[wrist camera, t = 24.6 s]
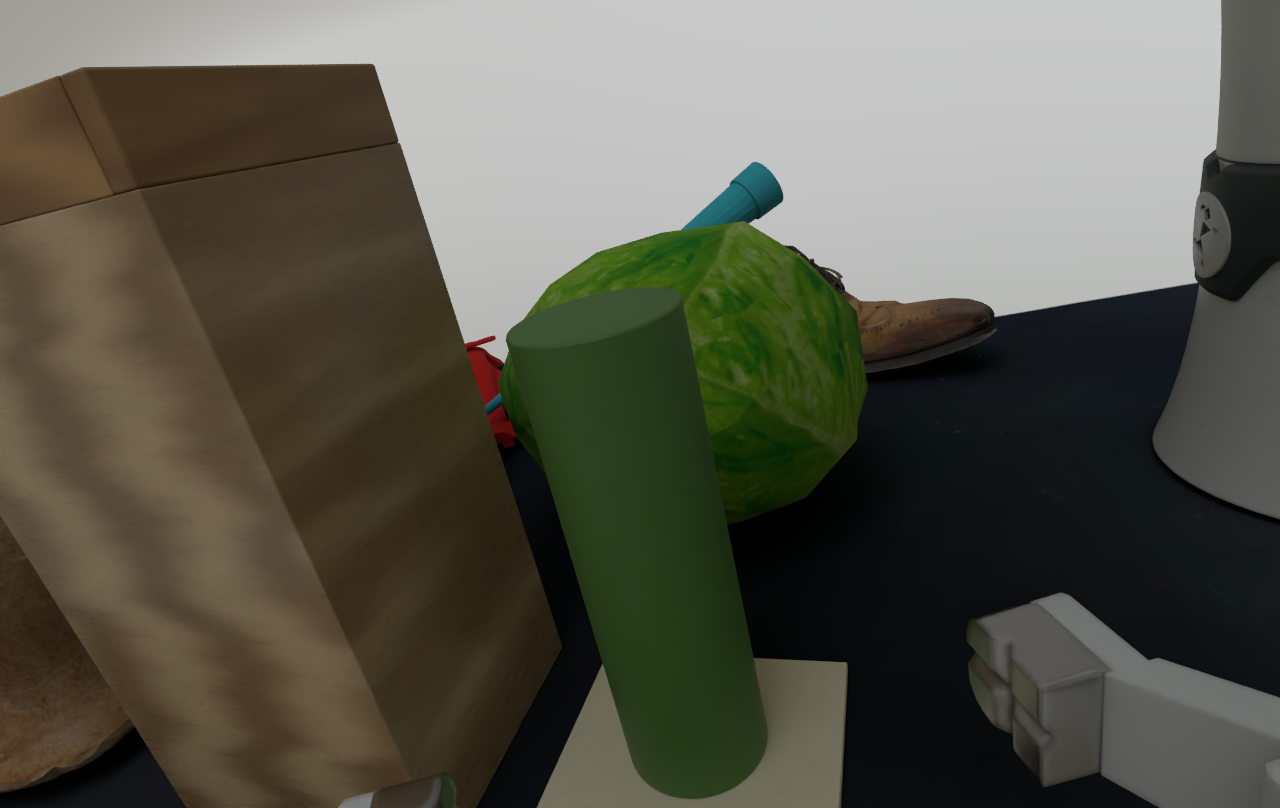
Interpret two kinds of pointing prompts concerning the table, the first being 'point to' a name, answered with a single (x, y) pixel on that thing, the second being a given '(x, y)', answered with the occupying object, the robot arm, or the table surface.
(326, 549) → the wooden box
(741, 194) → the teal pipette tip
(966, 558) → the table surface
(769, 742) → the mat
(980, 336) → the shoe
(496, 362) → the toy car
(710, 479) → the green cylinder
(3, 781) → the stone cup
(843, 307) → the lettuce
